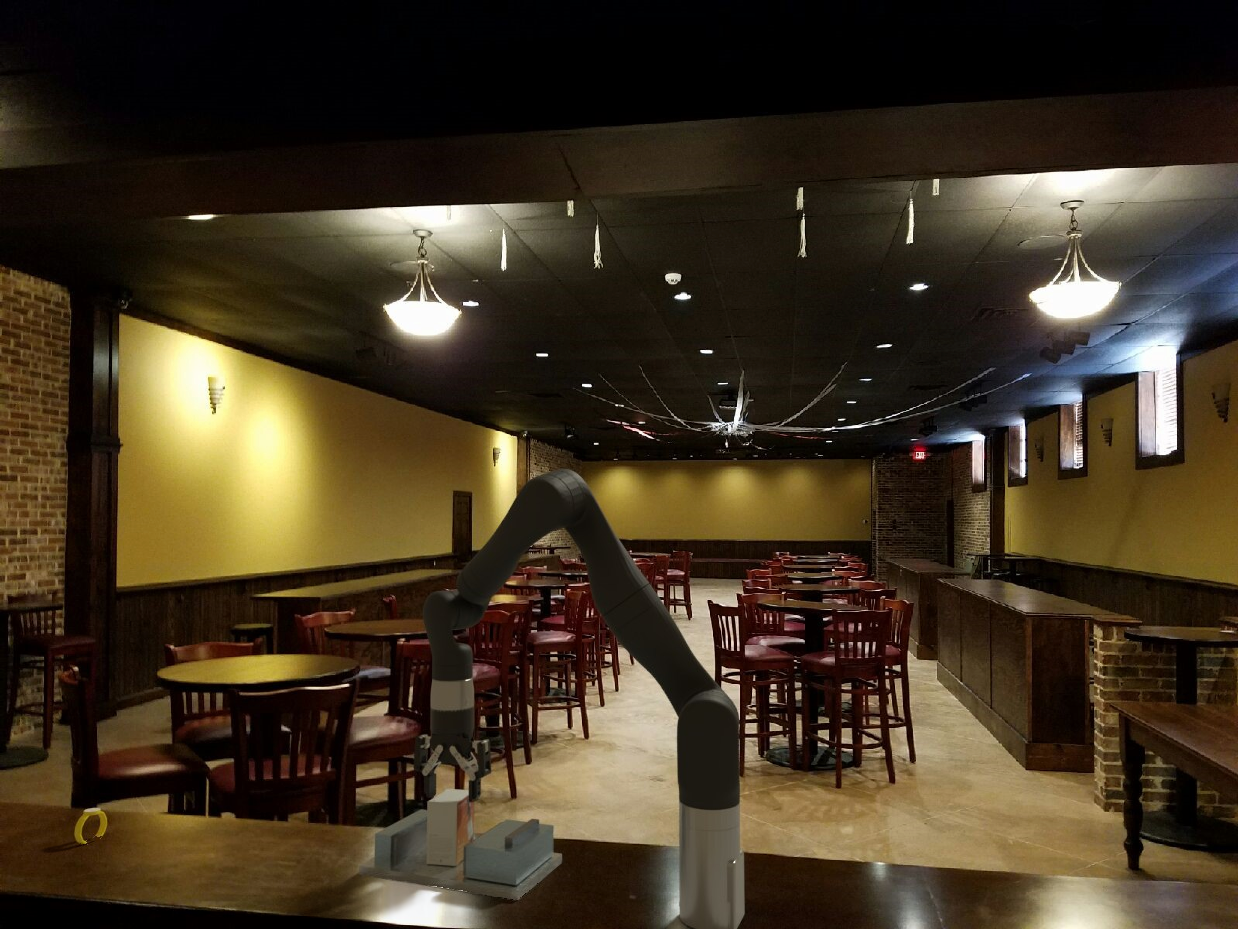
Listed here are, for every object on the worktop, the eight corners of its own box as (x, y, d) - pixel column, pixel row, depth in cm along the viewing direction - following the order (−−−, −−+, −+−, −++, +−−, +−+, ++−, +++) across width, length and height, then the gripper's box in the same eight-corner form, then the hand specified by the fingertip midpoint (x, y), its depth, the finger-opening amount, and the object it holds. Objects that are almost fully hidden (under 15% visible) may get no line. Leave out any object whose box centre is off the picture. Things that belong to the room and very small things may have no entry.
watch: (97, 838, 167) (100, 805, 168) (108, 839, 166) (112, 806, 167) (69, 846, 161) (73, 812, 162) (81, 848, 161) (85, 814, 162)
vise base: (562, 862, 154) (562, 824, 154) (517, 901, 138) (517, 858, 138) (415, 841, 164) (416, 805, 165) (358, 874, 148) (359, 835, 149)
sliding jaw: (553, 855, 153) (553, 817, 153) (516, 885, 140) (516, 843, 140) (502, 847, 156) (502, 810, 157) (461, 876, 143) (462, 836, 144)
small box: (456, 867, 148) (457, 803, 148) (425, 864, 149) (426, 801, 150) (474, 850, 155) (475, 790, 156) (445, 848, 157) (446, 787, 157)
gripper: (498, 702, 155) (498, 796, 154) (429, 698, 160) (429, 789, 159) (477, 711, 148) (476, 809, 147) (405, 706, 153) (404, 801, 152)
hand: (452, 798), depth 153 cm, fingers open, 8 cm apart
